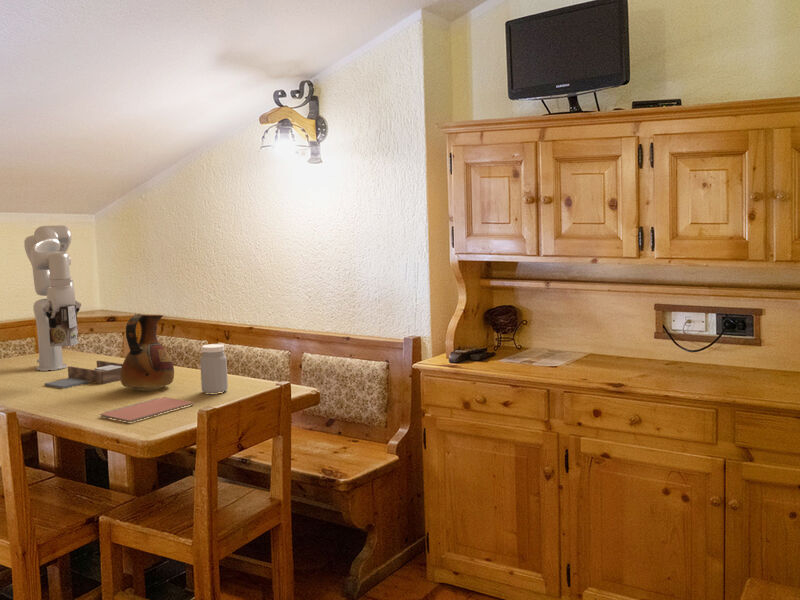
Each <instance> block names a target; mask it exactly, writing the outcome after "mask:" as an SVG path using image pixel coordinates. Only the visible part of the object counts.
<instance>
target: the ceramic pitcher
mask: <svg viewBox="0 0 800 600" xmlns="http://www.w3.org/2000/svg"><path fill="white" fill-rule="evenodd" d="M163 317H164V314H141V313H137V314H136V313H135V314H134V315H133V316H132V317H131V318H129V320H128V321H127V323H126V325H125V337H126V341H127V344H128V347H129V352H128V353H127V355H126V356H125V359H124V361H123V363H122V364H123V365H122V368H121V380H120V383H121V385H122V386H123V387H125V388H129V389H132V390H135V391H146V392H147V391H148V392H149V391H153V392H155V391H157V390H160V389H161V388H164V387H166V386H169V385H171V384H172V383H173V381H174V377H175V367H174V362H173V359H172V357H171V355H170V354H169V352H168V350H167V349H166V347H164V346H163V345H162V344H161V343H160V342H159V341H158V336H157V329H158V323H159V321H160V320H161V319H162V318H163ZM138 322H139V324H140V330H141V331H140V339H139V341H138V339H137V333H136V332H137V331H136V330H137V324H138ZM159 388H160V389H159Z"/></svg>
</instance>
